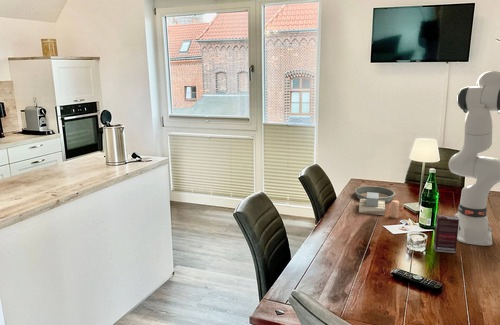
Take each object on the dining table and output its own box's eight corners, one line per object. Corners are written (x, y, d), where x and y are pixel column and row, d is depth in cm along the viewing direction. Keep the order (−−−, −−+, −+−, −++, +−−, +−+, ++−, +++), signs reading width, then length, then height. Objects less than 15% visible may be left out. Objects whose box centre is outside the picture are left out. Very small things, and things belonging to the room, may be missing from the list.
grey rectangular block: (378, 207, 220) (378, 198, 219) (366, 206, 222) (366, 197, 221) (378, 201, 231) (378, 193, 229) (366, 200, 233) (367, 192, 231)
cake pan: (358, 190, 265) (358, 184, 264) (396, 195, 255) (397, 188, 254) (350, 201, 244) (350, 194, 243) (392, 206, 233) (392, 199, 232)
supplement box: (453, 248, 177) (457, 215, 174) (455, 253, 173) (459, 219, 169) (432, 246, 179) (436, 214, 176) (434, 251, 175) (438, 218, 171)
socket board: (384, 215, 219) (385, 208, 218) (358, 212, 223) (359, 206, 222) (384, 207, 232) (384, 200, 231) (359, 205, 236) (360, 198, 235)
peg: (398, 218, 214) (399, 203, 212) (390, 217, 215) (391, 202, 213) (397, 216, 218) (399, 200, 216) (390, 215, 219) (391, 200, 217)
